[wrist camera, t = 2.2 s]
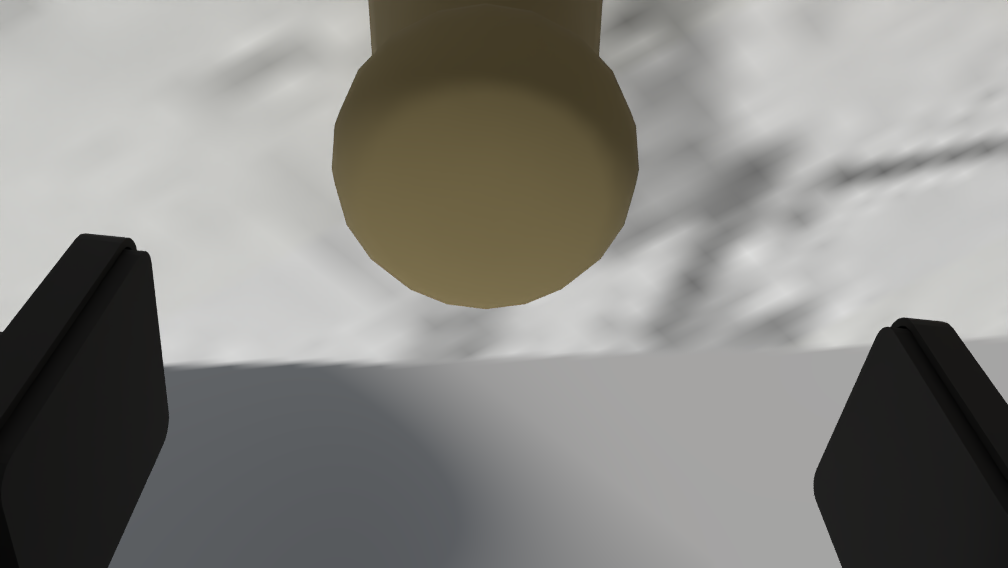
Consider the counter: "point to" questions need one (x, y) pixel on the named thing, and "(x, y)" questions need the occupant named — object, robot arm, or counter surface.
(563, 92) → the cork
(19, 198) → the counter surface
